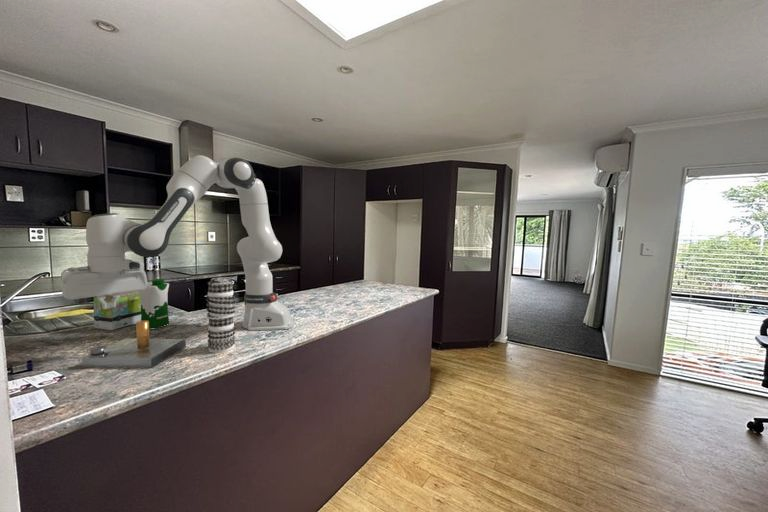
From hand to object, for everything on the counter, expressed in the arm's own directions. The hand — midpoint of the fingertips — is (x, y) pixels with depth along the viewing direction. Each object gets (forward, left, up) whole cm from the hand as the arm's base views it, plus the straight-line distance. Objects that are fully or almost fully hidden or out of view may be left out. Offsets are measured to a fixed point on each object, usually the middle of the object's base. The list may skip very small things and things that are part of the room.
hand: (109, 308), depth 97 cm
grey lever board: (-7, -1, -16) cm, 18 cm away
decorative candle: (-30, -9, -16) cm, 36 cm away
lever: (-5, +3, -12) cm, 14 cm away
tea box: (+24, -34, -16) cm, 45 cm away
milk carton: (+9, -32, -16) cm, 37 cm away
